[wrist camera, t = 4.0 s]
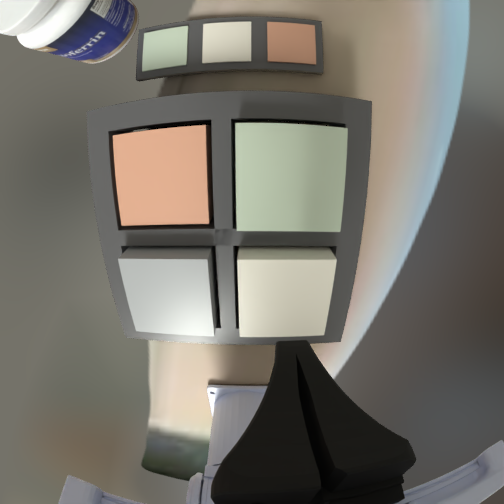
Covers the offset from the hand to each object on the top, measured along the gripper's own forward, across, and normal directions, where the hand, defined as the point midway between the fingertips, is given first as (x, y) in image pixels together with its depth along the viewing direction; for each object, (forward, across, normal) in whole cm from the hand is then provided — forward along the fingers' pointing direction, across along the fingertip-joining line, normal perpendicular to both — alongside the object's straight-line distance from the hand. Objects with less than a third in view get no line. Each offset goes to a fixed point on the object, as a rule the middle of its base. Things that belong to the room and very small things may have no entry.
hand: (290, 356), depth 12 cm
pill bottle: (+10, +12, -18) cm, 24 cm away
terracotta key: (+9, +7, -7) cm, 13 cm away
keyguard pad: (+9, +3, -4) cm, 10 cm away
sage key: (+8, 0, -7) cm, 10 cm away
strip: (+9, +3, -16) cm, 18 cm away
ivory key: (+8, 0, 0) cm, 8 cm away
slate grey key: (+8, +7, 0) cm, 10 cm away
